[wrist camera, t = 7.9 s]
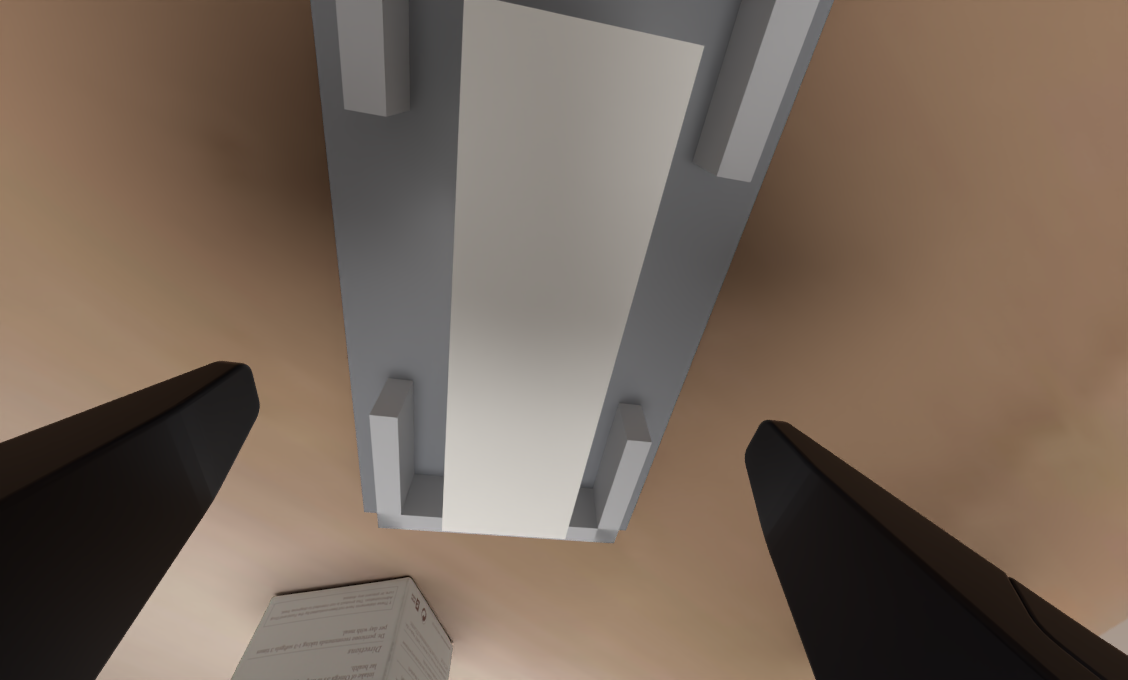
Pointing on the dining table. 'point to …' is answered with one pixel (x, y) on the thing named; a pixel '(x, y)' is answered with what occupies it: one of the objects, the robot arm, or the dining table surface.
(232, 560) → the dining table surface
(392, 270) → the grey bracket base
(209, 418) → the robot arm
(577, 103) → the slat
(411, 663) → the supplement box
